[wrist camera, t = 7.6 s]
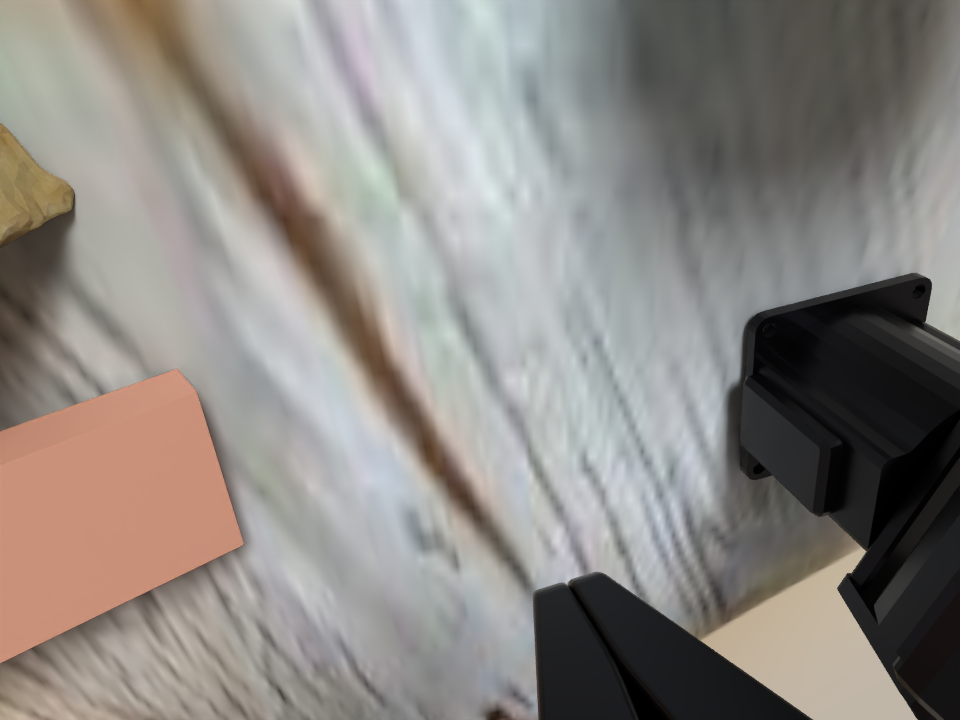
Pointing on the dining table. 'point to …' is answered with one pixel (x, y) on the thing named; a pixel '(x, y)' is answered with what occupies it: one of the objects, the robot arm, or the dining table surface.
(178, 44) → the dining table surface
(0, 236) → the rock
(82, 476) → the domino
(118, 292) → the dining table surface
